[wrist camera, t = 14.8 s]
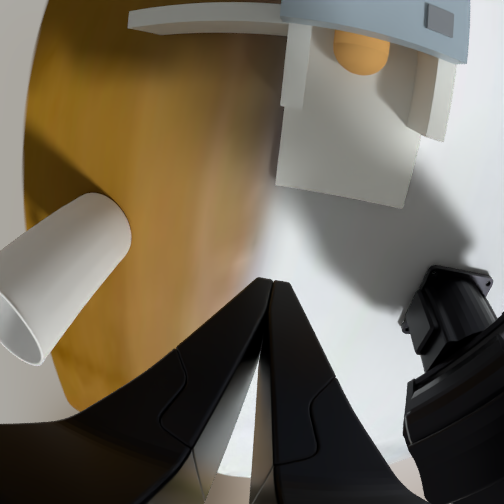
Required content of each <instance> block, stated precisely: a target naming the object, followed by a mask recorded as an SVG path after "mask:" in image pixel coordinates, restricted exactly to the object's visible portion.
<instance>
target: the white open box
mask: <svg viewBox="0 0 504 504" xmlns="http://www.w3.org/2000/svg"><path fill="white" fill-rule="evenodd" d="M280 9H281V4H272V3H253V2H211V3H192V4H180V5H170V6H161V7H153V8H146V9H140V10H134V11H129V18H128V28H129V29H134V30H140V31H144V32H149V33H154V34H158V35H169V34H185V33H250V34H266V35H278V36H288V38H287V47H286V56H285V66H284V75H283V84H282V93H281V102H280V106H285V107H284V116H283V124H282V132H281V141H280V149H279V157H278V165H277V174H276V182H275V185H276V186H283V187H289V188H295V189H301V190H307V191H313V192H319V193H325V194H330V195H335V196H341V197H346V198H351V199H356V200H361V201H366V202H371V203H376V204H381V205H385V206H390V207H395V208H399V209H403V206H404V202H405V199H406V195H407V192H408V188H409V184H410V181H411V177H412V173H413V169H414V165H415V161H416V156H417V152H418V148H419V143H420V139H421V135H423V136H425V137H428V138H431V139H434V140H437V141H440V142H444V137H445V132H446V128H447V123H448V117H449V112H450V106H451V101H452V94H453V88H454V81H455V73H456V65H457V64H452V63H450V62H447V61H445V60H442V59H440V58H437V57H434V56H432V55H429V54H426V53H423V52H420V51H417V50H414V49H411V48H408V47H405V46H402V45H398V44H395V43H391V42H390V48H389V56H388V60H387V62H386V64H385V66H384V67H383V68H382V69H381V70H380V71H378V72H377V73H374V74H371V75H357V74H353V73H351V72H349V71H347V70H346V69H345V68H343V67H342V66H341V65H340V64H339V62H338V61H337V59H336V57H335V55H334V50H333V43H334V34H335V29H330V28H324V27H317V26H311V25H303V24H295V23H286V22H282V20H281V18H280Z"/></svg>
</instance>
